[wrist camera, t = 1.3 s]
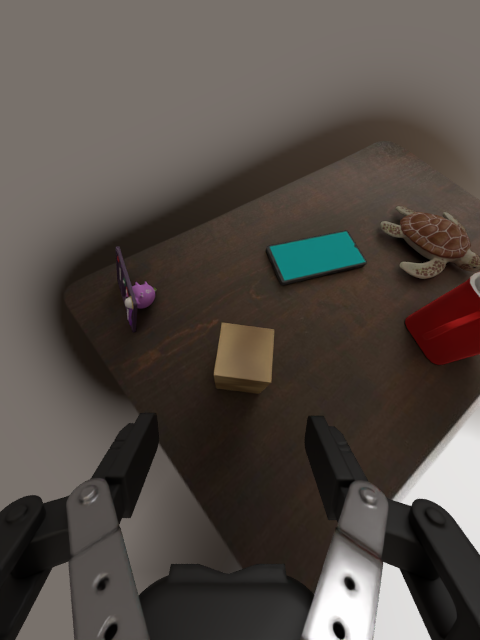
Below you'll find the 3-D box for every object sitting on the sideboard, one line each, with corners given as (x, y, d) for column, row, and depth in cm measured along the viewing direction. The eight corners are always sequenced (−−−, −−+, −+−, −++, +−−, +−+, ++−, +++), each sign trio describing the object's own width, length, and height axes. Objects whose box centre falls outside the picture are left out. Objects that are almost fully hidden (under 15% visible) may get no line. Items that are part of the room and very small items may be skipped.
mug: (441, 303, 37) (517, 260, 28) (477, 352, 34) (578, 322, 25) (377, 325, 35) (436, 285, 25) (410, 379, 32) (492, 357, 22)
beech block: (215, 388, 30) (213, 375, 22) (222, 346, 32) (222, 322, 25) (259, 394, 30) (271, 382, 23) (262, 351, 32) (274, 329, 25)
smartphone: (266, 246, 38) (347, 229, 41) (265, 249, 39) (344, 233, 42) (282, 283, 36) (368, 263, 38) (281, 286, 36) (365, 266, 39)
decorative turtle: (447, 309, 37) (479, 292, 32) (358, 246, 41) (375, 224, 37) (488, 247, 43) (519, 226, 39) (406, 198, 47) (426, 174, 43)
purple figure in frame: (108, 245, 29) (126, 305, 26) (152, 244, 32) (173, 299, 29) (111, 280, 35) (126, 334, 31) (148, 277, 37) (166, 326, 34)
